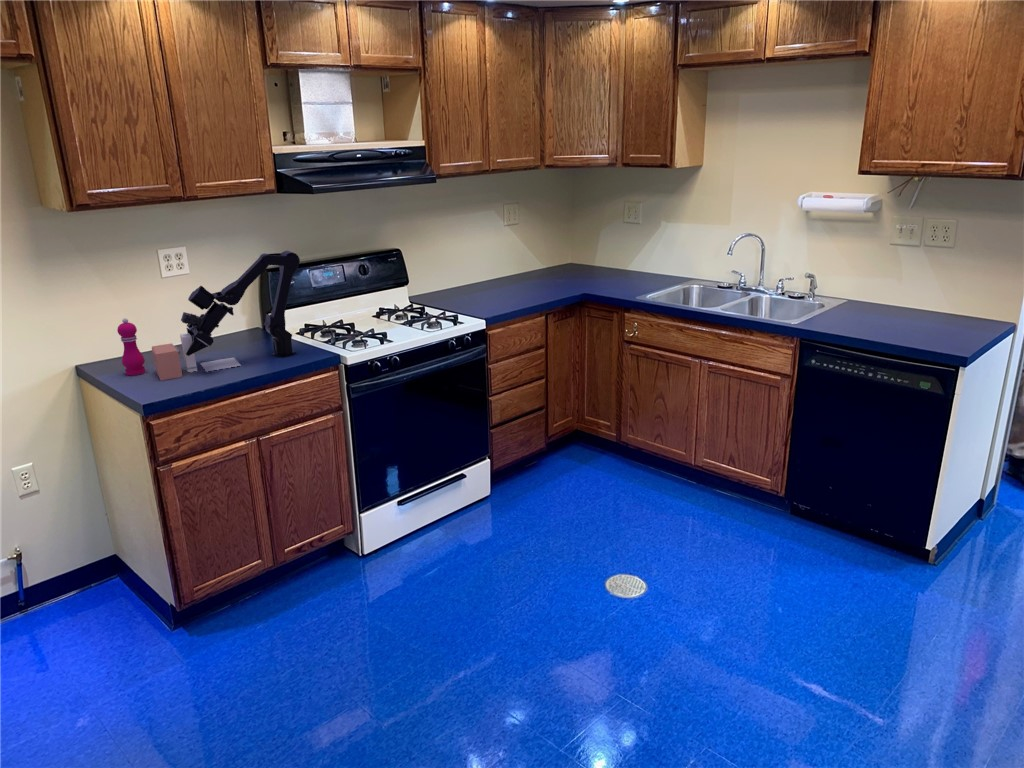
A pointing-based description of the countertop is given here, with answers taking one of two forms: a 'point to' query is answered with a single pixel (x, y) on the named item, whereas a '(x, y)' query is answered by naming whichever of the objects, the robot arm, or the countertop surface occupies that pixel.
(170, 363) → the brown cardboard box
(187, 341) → the white rectangular block
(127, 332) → the pepper mill
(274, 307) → the robot arm
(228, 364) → the mat
